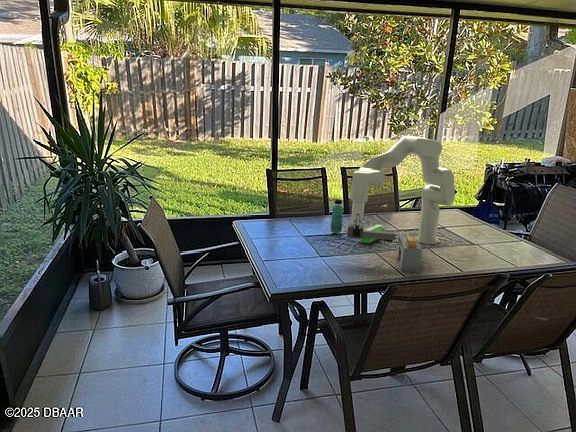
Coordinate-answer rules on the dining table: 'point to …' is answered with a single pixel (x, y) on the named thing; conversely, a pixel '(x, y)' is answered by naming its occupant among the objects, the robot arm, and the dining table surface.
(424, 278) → the dining table surface
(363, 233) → the plug
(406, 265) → the grey boxy piece
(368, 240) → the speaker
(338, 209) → the beverage bottle
